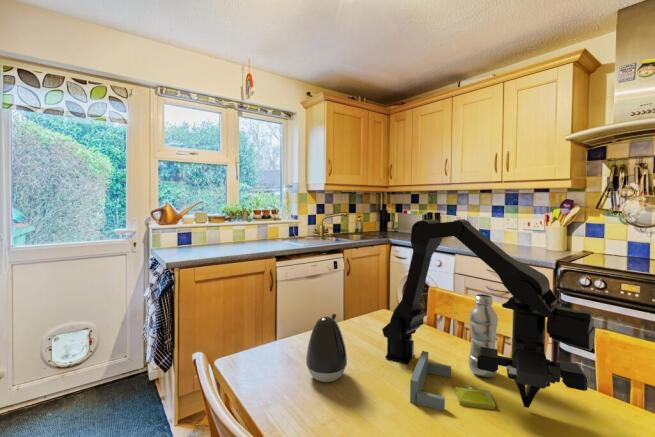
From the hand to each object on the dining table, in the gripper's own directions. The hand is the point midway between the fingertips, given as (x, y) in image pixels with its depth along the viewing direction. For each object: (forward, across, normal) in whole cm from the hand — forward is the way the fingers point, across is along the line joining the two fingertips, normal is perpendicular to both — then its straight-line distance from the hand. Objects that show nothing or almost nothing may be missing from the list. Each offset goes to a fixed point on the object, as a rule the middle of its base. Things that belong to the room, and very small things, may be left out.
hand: (526, 406), depth 67 cm
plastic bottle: (+1, -8, +12) cm, 15 cm away
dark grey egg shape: (+1, -43, -6) cm, 44 cm away
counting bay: (+1, -19, 0) cm, 19 cm away
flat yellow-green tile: (+2, -10, 0) cm, 10 cm away
